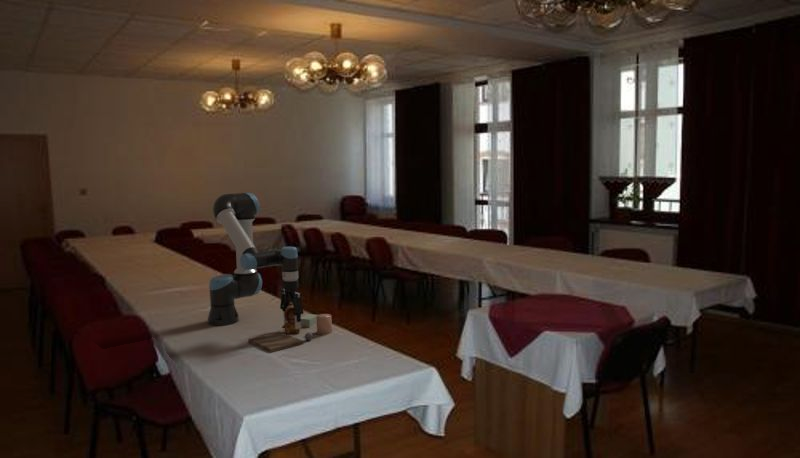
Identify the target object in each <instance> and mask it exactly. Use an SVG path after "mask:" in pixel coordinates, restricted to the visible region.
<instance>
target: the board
mask: <svg viewBox="0 0 800 458" xmlns="http://www.w3.org/2000/svg"><path fill="white" fill-rule="evenodd" d="M247 340H248V343H249V344H251V345H254V346H257V347H258V348H260V349H263V350H265V351H267V352H269V353H274V352H275V353H276V352H278V351H283V350H286V349H290V348H293V347H298V346H301V345H304V340H303V339H299V338H298V337H296V336H295V337H294V336H292V335H291V334H288V335H287V334H286V333H285V332H281V331H276V332H272V333H267V334H264V335H260V336H255V337H249V338H248V339H247Z"/></svg>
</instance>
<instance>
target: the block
mask: <svg viewBox="0 0 800 458" xmlns="http://www.w3.org/2000/svg"><path fill="white" fill-rule="evenodd" d="M317 315H318V314H311V313H309V314H306V315H304V316H301V326H303V327H306V328H312V327H314V326H316V325H317V320H316V316H317Z"/></svg>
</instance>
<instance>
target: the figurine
mask: <svg viewBox="0 0 800 458" xmlns="http://www.w3.org/2000/svg"><path fill="white" fill-rule="evenodd" d="M297 313H298V312H297ZM284 315H285V318H286V320H287V321H288V322H287V323H286V324H284V323H283V325H282V326H281V328H282V329H284V334H287V335H291V334H292V335H293V334H297V335H299V334H300V331H301V330H300V329H302V328H303V327H304V326H301V328H298V329H295V311H294V307H293V304H292V302H290V303H289V305H288V306H287V308H286V309H285V313H284Z"/></svg>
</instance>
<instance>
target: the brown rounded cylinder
mask: <svg viewBox="0 0 800 458" xmlns="http://www.w3.org/2000/svg"><path fill="white" fill-rule="evenodd" d="M316 315H317V316H316V320H317V324H316V334H317V335H322V336H323V335H324V336H325V335H329V334H331V333H332V332H333V329H332V327H333V325H332V322H333V321H332V315H331V314H329V313H321V314H316Z"/></svg>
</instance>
